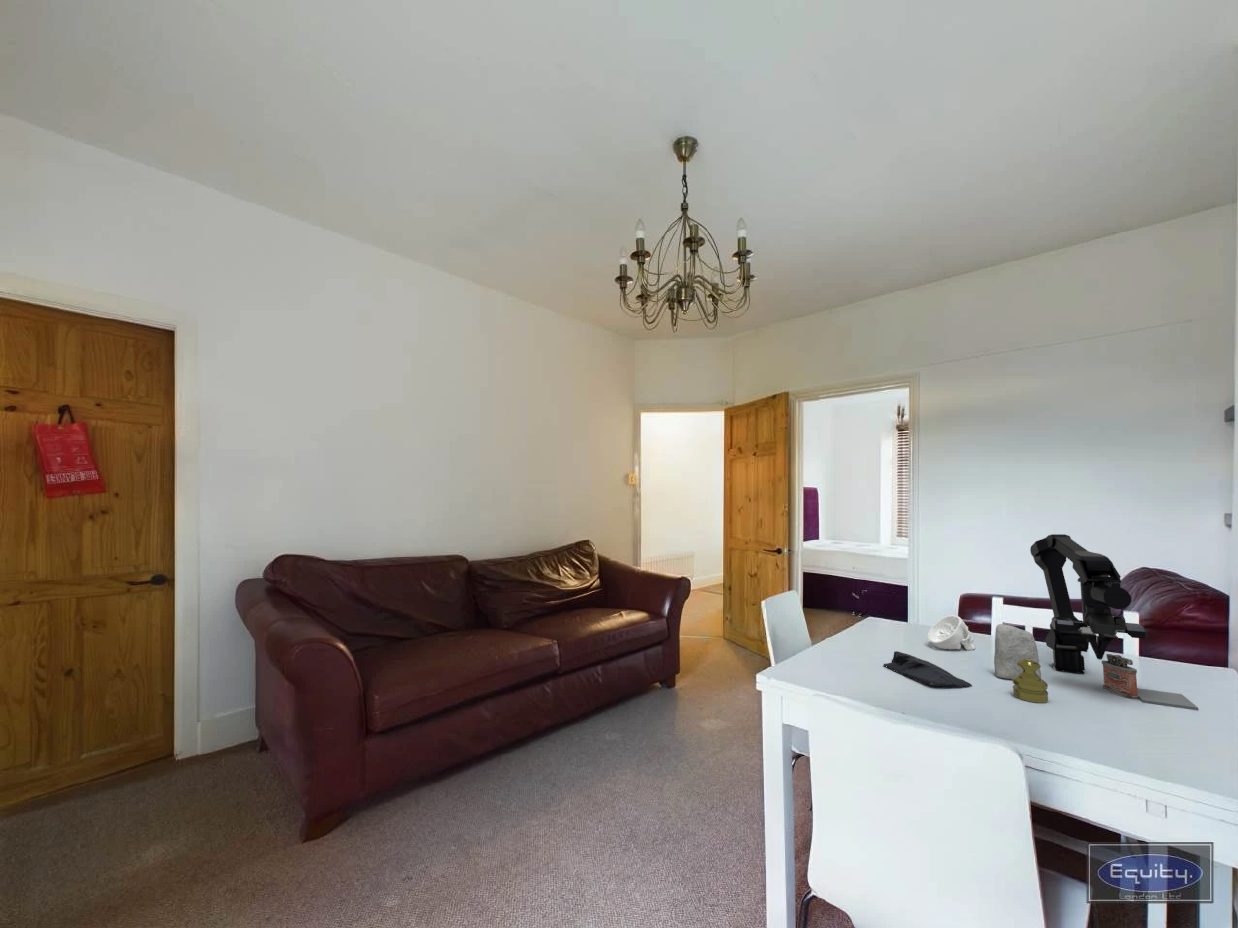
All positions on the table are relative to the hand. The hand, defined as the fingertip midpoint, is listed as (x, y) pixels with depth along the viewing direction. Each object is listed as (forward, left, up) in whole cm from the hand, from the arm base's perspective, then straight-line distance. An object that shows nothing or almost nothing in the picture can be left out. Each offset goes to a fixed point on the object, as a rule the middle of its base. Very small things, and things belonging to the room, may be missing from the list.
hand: (1099, 658), depth 141 cm
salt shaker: (-17, -15, -9) cm, 24 cm away
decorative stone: (-18, +1, -9) cm, 20 cm away
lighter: (+4, 0, -9) cm, 10 cm away
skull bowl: (-34, +26, -9) cm, 44 cm away
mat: (+12, 0, -8) cm, 15 cm away
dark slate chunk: (-41, -9, -9) cm, 43 cm away
